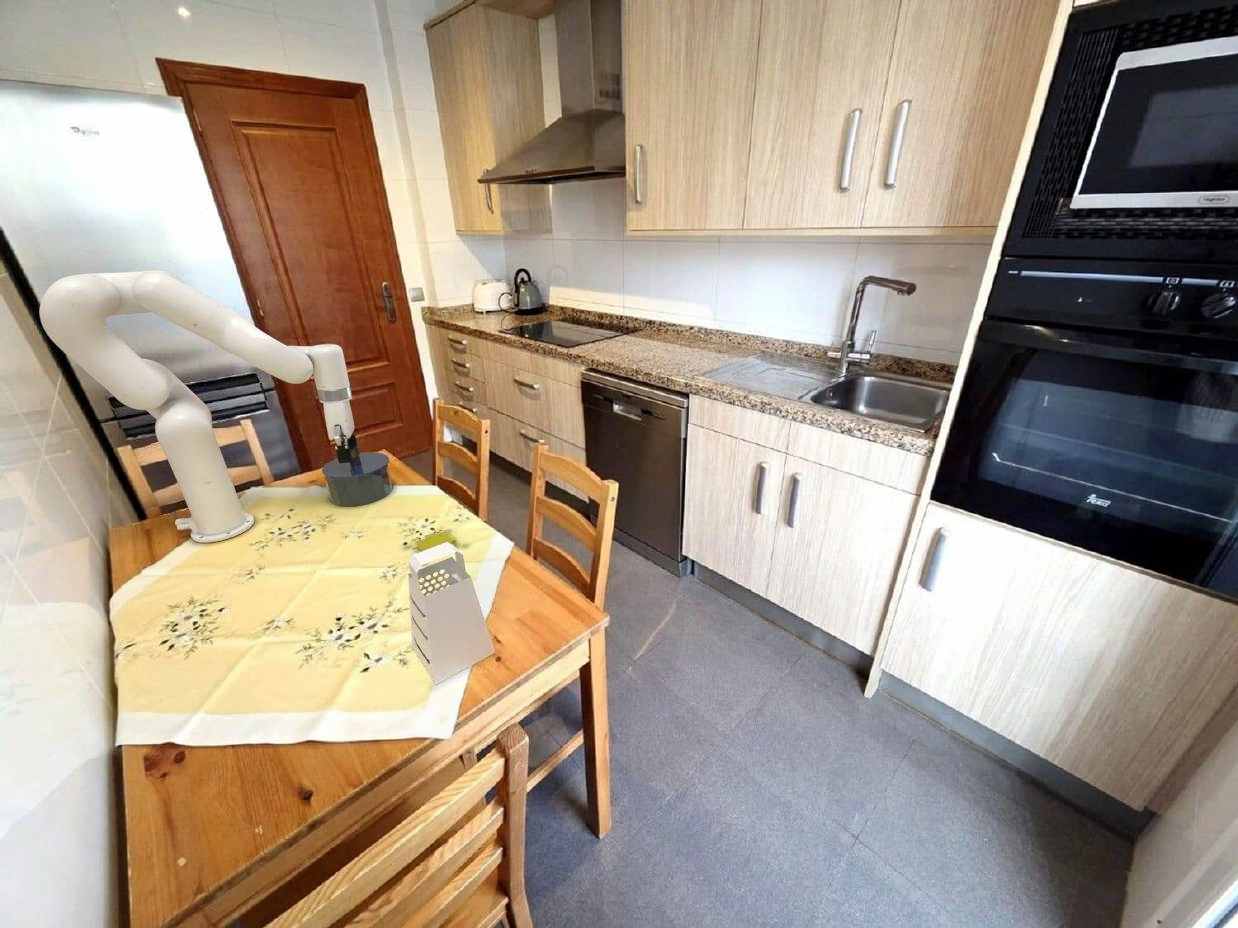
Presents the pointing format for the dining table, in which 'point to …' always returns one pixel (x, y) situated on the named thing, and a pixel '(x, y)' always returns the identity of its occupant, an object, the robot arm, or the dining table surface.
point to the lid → (356, 464)
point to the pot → (359, 488)
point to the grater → (446, 615)
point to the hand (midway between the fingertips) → (348, 455)
